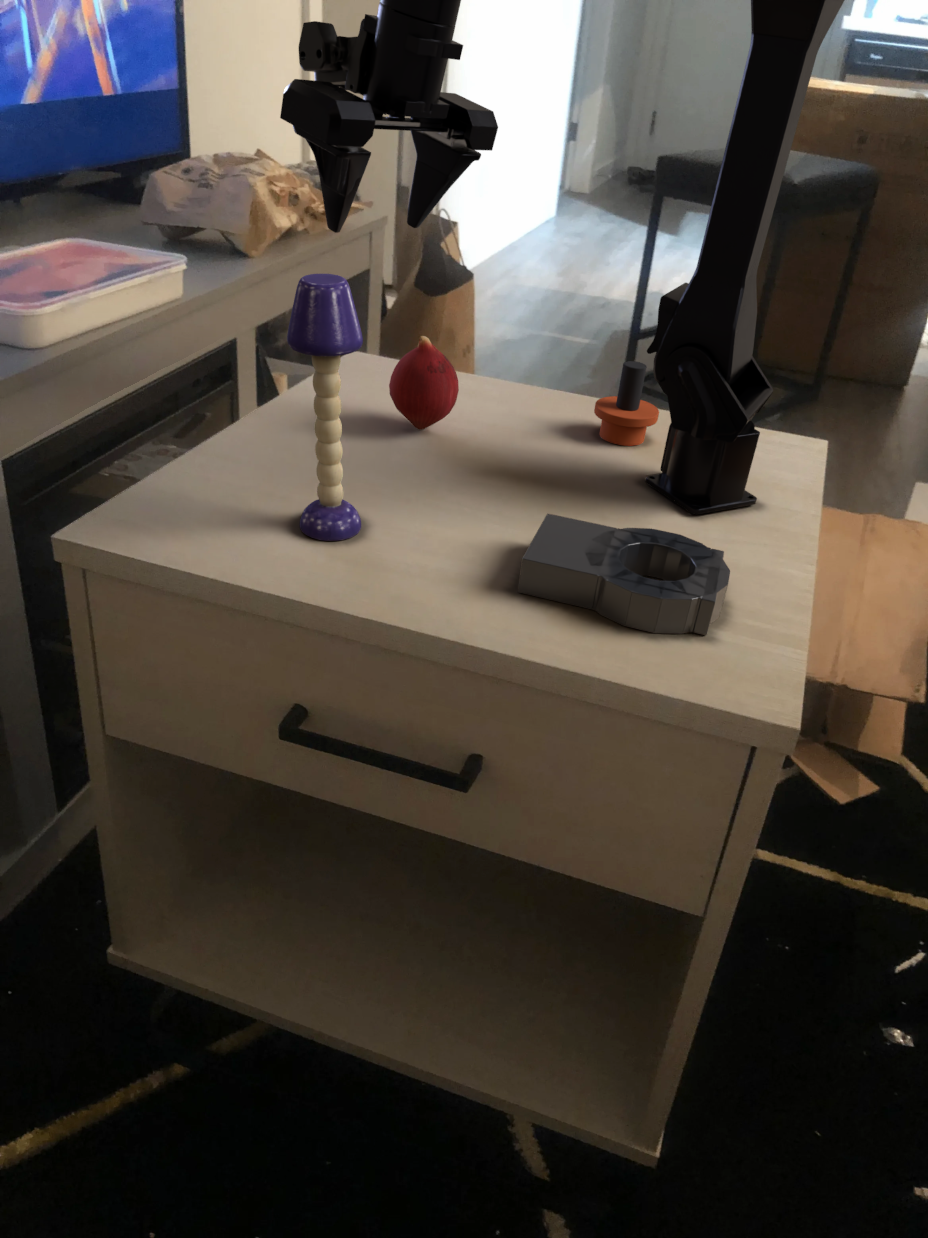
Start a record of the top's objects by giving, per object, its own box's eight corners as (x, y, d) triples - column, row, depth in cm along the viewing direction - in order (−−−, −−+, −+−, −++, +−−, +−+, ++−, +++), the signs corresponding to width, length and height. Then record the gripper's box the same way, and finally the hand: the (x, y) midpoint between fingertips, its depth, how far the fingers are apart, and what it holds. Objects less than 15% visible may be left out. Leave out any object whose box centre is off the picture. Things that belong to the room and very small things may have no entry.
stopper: (665, 445, 84) (681, 372, 80) (614, 452, 82) (627, 377, 78) (628, 422, 88) (641, 352, 84) (578, 428, 86) (589, 356, 82)
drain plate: (725, 577, 64) (734, 545, 63) (714, 647, 57) (724, 612, 55) (545, 538, 67) (550, 506, 66) (512, 600, 59) (517, 565, 58)
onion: (458, 421, 85) (465, 331, 80) (450, 445, 80) (458, 350, 76) (393, 413, 85) (397, 323, 81) (382, 437, 80) (386, 342, 76)
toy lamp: (313, 549, 63) (313, 291, 54) (277, 521, 66) (271, 271, 57) (373, 532, 66) (382, 283, 57) (336, 506, 68) (339, 265, 59)
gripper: (426, -3, 79) (386, 190, 88) (246, -37, 66) (222, 192, 76) (525, 40, 75) (472, 238, 84) (353, 11, 62) (313, 249, 71)
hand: (374, 228), depth 79 cm, fingers open, 9 cm apart
